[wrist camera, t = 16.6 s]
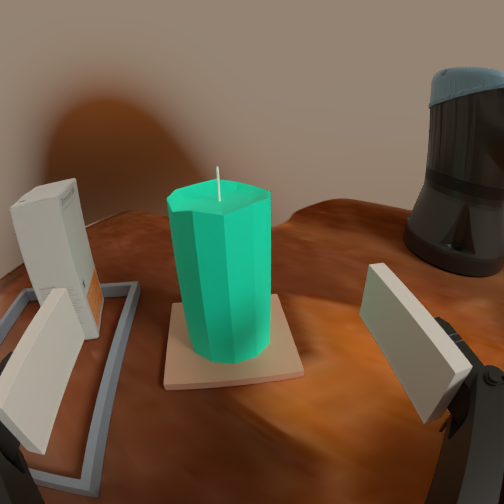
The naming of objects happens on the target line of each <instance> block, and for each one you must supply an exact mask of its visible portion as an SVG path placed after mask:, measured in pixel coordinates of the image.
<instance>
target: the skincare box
mask: <svg viewBox="0 0 504 504" xmlns="http://www.w3.org/2000/svg"><path fill="white" fill-rule="evenodd" d="M9 210H10V215H11V219H12V223H13V226H14V230H15V234H16V237H17V241H18V244H19V248H20V251H21V254H22V257H23V261H24V263H25V267H26V270H27V272H28V275H29V278H30V281H31V284H32V286H33V289H34V292H35V294H36V297H37V299H38V302H39V304H40V307H41V306H42V304H43V303H44V301H45V300H46V298H47V297H48V295H49V294H50V292H51V291H52V289H59V288H67V290H68V293H69V296H70V299H71V301H72V304H73V307H74V309H75V312H76V315H77V317H78V320H79V322H80V325H81V327H82V329H83V332H84V334H85V339H84V340H88V339H95V338H98V337H99V329H100V322H101V314H102V309H103V303H104V297H103V294H102V290H101V287H100V283H99V280H98V276H97V273H96V269H95V265H94V262H93V258H92V254H91V250H90V246H89V242H88V238H87V233H86V229H85V224H84V220H83V215H82V210H81V205H80V200H79V195H78V189H77V183H76V179H75V178H73V179H68V180H63V181H59V182H54V183H50V184H46V185H41V186H37V187H35V188H34V189H33V190H31V191H30V192H28V193H26V194H25V195H23V196H22V197H21V198H20V200H19V201H17V202H16V203H15V204H14V205H12V206H11V207H10V209H9Z"/></svg>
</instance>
